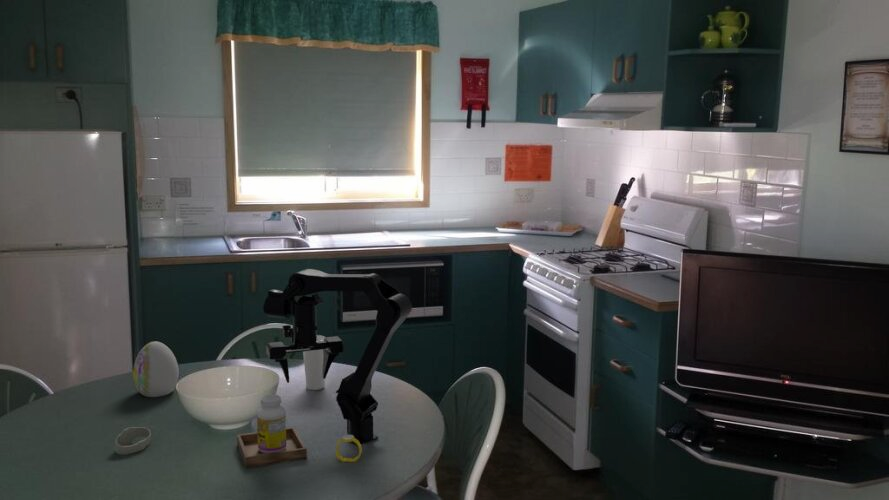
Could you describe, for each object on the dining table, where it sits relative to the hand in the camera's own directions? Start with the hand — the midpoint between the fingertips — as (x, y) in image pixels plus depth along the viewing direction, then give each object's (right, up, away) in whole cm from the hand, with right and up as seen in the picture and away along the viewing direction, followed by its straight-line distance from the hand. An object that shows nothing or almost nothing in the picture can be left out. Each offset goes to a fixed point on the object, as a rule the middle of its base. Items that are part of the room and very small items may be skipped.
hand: (306, 380), depth 208 cm
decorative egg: (-47, -8, +28) cm, 56 cm away
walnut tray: (-6, -15, -11) cm, 20 cm away
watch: (+13, -16, -16) cm, 26 cm away
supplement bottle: (-6, -15, -12) cm, 20 cm away
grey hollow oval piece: (-40, -15, -10) cm, 44 cm away
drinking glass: (-3, -8, +33) cm, 34 cm away
